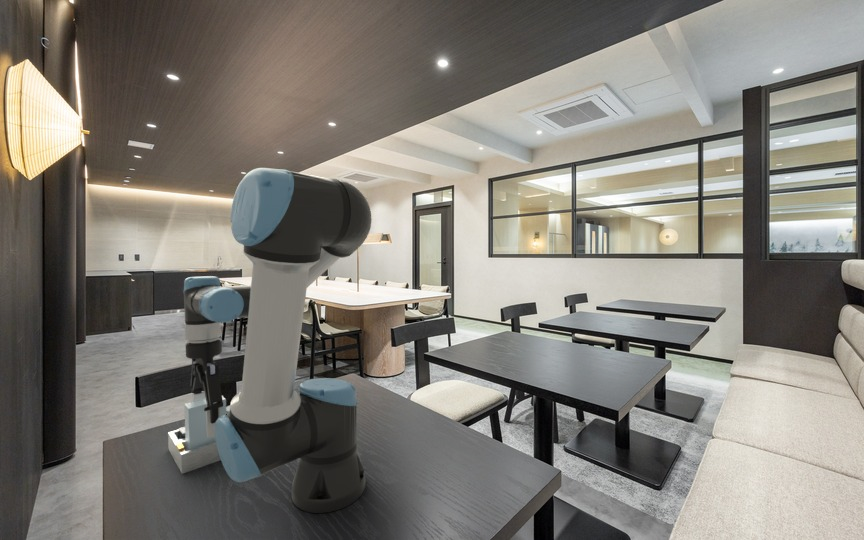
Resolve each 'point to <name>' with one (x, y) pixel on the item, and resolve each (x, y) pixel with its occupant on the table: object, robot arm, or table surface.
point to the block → (198, 424)
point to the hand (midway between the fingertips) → (206, 426)
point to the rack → (190, 452)
